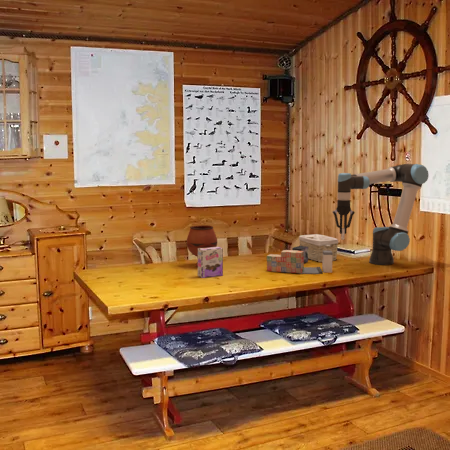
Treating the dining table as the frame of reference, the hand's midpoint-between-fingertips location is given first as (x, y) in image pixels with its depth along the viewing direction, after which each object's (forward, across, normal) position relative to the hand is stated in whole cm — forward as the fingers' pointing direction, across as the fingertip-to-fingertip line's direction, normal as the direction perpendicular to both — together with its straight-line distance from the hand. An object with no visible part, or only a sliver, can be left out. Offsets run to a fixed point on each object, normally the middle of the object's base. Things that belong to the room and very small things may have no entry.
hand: (342, 239), depth 342 cm
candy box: (+20, +78, +14) cm, 81 cm away
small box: (+20, +23, -24) cm, 39 cm away
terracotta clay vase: (+20, +85, -14) cm, 88 cm away
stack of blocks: (+19, +34, +2) cm, 39 cm away
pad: (+20, +19, 0) cm, 27 cm away
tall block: (+20, +9, 0) cm, 21 cm away
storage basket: (+20, +10, -39) cm, 45 cm away
